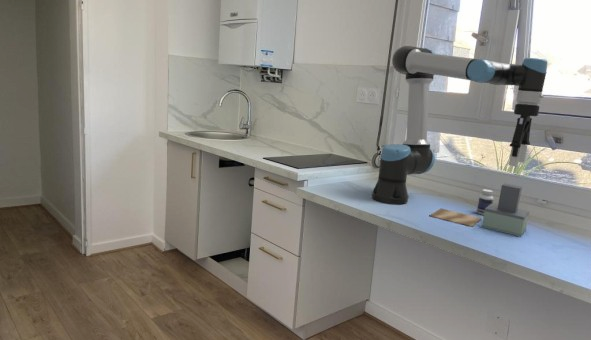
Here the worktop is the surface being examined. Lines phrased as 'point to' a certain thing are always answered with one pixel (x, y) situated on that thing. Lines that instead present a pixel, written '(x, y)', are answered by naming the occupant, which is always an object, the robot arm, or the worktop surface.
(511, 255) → the worktop surface
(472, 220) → the plate
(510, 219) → the sage green block
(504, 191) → the lid
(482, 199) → the pill bottle
